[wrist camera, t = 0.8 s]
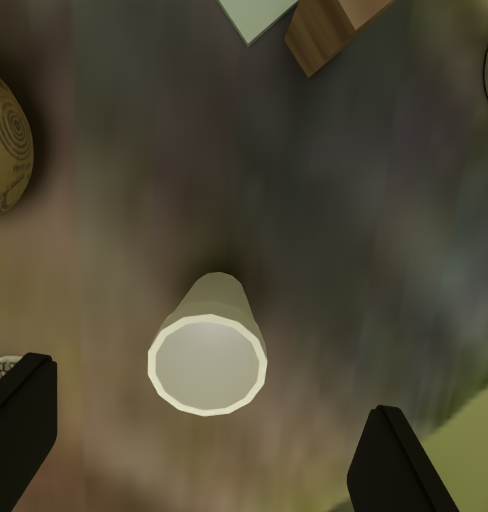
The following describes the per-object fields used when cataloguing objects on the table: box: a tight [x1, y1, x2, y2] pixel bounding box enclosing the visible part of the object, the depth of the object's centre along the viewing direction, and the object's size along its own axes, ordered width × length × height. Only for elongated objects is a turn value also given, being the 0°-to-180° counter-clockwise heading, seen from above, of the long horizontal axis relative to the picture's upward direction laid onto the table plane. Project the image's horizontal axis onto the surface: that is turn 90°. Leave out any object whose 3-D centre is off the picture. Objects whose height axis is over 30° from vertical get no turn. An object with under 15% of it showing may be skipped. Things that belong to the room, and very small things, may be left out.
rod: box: [284, 0, 396, 78], centre depth 25 cm, size 4×4×14 cm
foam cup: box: [148, 272, 267, 416], centre depth 33 cm, size 10×9×13 cm
